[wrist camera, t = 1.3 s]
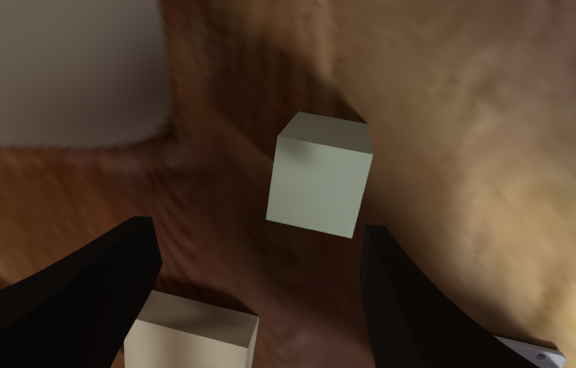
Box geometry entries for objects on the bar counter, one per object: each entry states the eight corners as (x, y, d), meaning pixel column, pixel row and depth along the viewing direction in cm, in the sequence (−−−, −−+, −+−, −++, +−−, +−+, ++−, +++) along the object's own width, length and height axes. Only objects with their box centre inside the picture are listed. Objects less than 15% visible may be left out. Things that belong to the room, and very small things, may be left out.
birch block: (259, 316, 26) (247, 348, 24) (246, 398, 30) (235, 434, 27) (146, 288, 27) (122, 315, 25) (147, 370, 31) (126, 402, 28)
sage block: (368, 124, 20) (373, 154, 14) (352, 188, 21) (351, 238, 16) (298, 111, 20) (277, 136, 15) (288, 175, 22) (265, 219, 16)
